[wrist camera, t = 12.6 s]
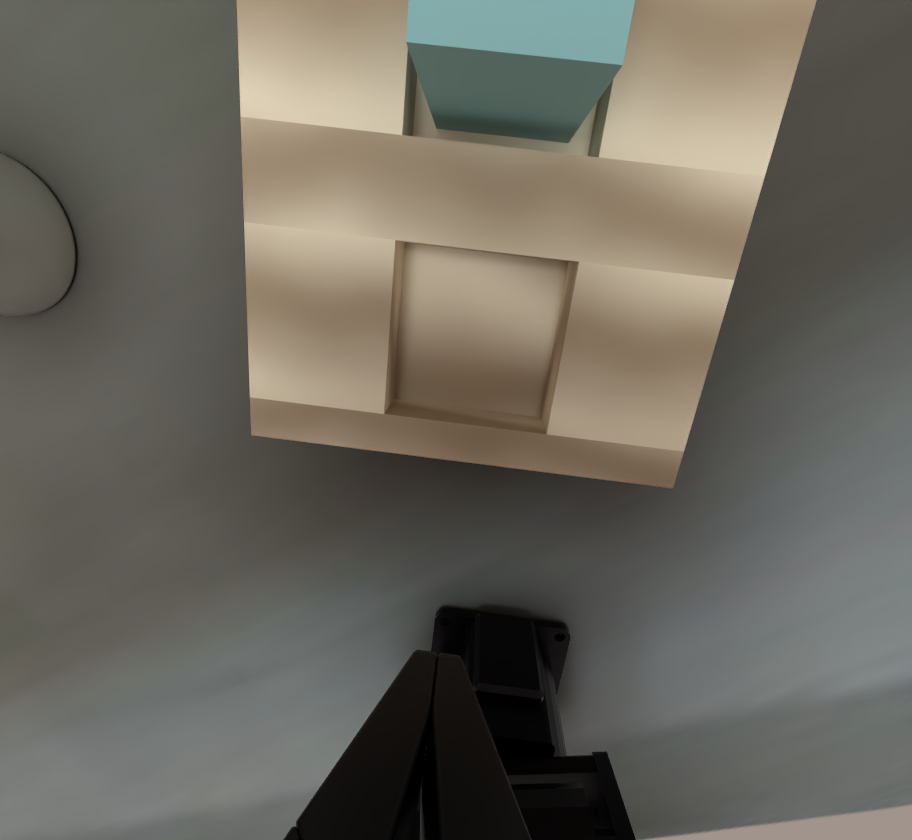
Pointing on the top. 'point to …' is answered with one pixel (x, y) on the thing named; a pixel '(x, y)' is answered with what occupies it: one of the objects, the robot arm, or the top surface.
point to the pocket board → (499, 239)
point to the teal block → (516, 62)
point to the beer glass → (31, 243)
